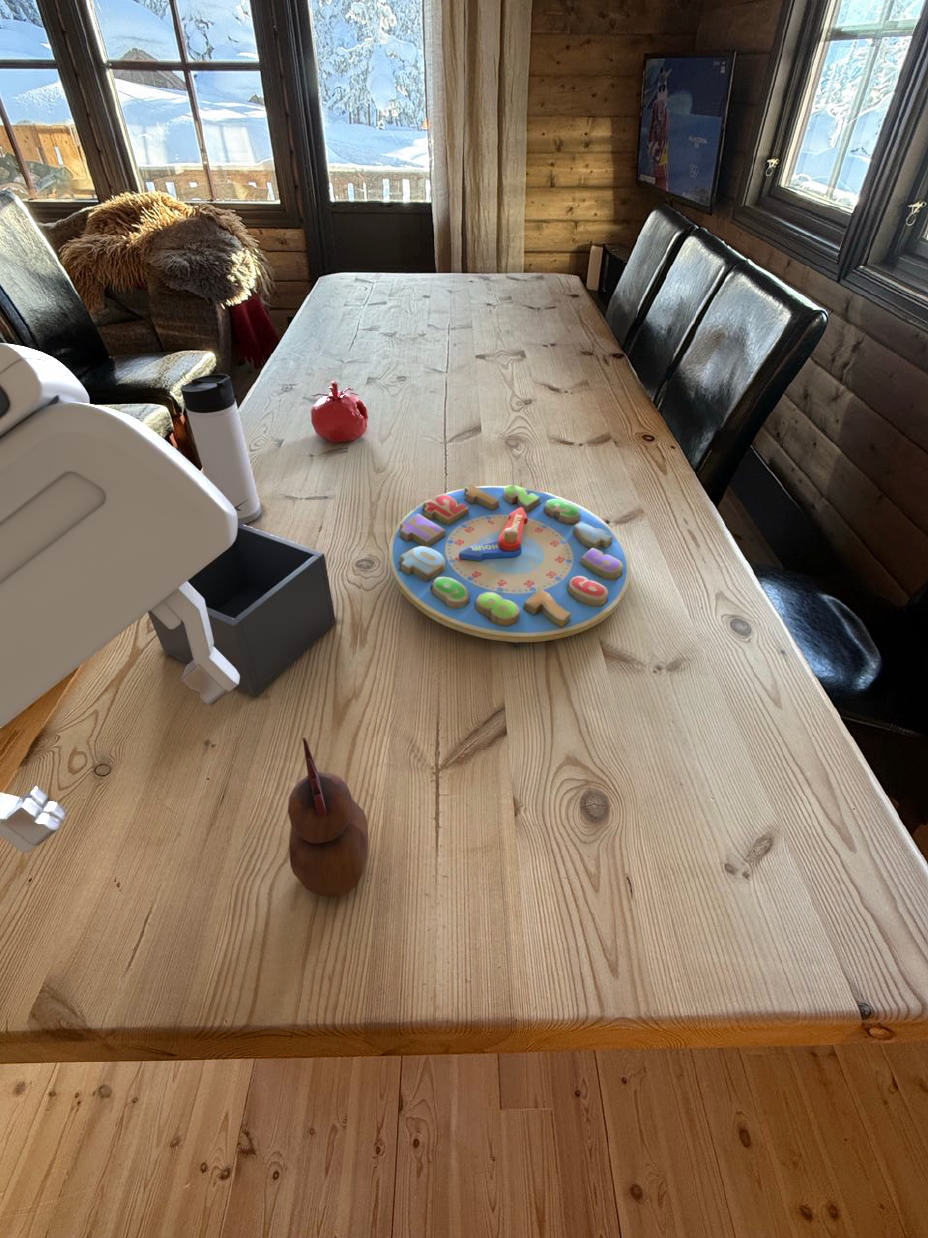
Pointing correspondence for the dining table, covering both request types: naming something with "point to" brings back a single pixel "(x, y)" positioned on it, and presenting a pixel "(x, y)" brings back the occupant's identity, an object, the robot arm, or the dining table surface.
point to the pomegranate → (339, 416)
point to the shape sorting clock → (509, 563)
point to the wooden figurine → (326, 833)
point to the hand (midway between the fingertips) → (138, 761)
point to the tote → (259, 606)
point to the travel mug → (222, 442)
